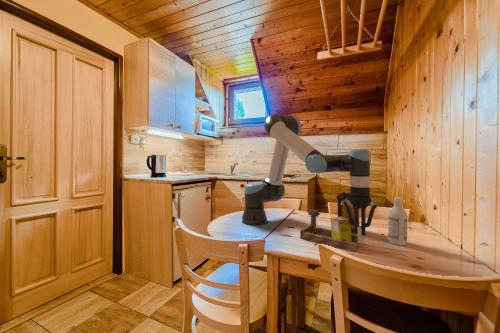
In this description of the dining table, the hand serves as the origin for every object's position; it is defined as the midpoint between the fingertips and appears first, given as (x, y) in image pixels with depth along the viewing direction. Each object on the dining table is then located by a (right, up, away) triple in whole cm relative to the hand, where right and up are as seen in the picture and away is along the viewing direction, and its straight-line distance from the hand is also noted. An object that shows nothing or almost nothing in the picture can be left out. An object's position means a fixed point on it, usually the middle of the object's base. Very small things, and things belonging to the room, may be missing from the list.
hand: (360, 242), depth 90 cm
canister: (+5, -2, +22) cm, 23 cm away
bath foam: (+19, -2, +5) cm, 20 cm away
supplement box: (-6, -2, +5) cm, 8 cm away
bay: (-10, -2, +10) cm, 14 cm away
